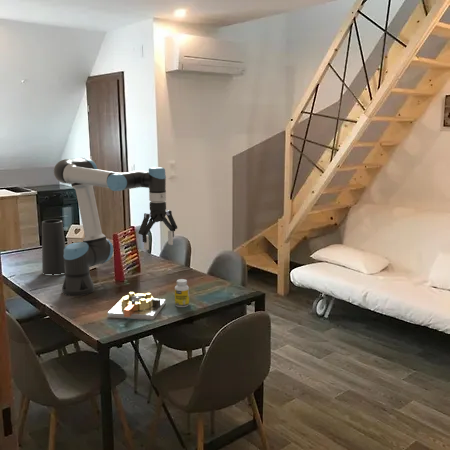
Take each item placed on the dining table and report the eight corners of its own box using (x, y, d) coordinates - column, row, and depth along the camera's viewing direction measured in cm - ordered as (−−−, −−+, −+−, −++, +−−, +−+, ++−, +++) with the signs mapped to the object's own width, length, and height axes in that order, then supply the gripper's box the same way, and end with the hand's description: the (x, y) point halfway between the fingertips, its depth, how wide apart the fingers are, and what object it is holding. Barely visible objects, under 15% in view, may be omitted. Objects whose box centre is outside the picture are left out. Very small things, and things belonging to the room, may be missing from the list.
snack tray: (127, 299, 234) (127, 290, 233) (156, 300, 232) (156, 291, 231) (111, 315, 214) (111, 306, 213) (142, 317, 212) (142, 308, 211)
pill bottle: (172, 306, 231) (171, 281, 229) (178, 301, 237) (178, 277, 235) (185, 308, 229) (185, 283, 226) (191, 303, 235) (191, 279, 232)
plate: (107, 317, 218) (107, 303, 217) (123, 301, 238) (123, 288, 237) (154, 319, 215) (154, 306, 214) (166, 303, 235) (166, 290, 234)
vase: (73, 271, 286) (70, 220, 280) (53, 277, 275) (50, 224, 269) (57, 267, 293) (53, 218, 287) (37, 273, 282) (33, 221, 276)
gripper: (139, 205, 223) (140, 252, 227) (184, 199, 240) (184, 243, 244) (129, 203, 228) (131, 249, 233) (174, 197, 245) (175, 241, 249)
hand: (158, 246), depth 238 cm, fingers open, 13 cm apart
